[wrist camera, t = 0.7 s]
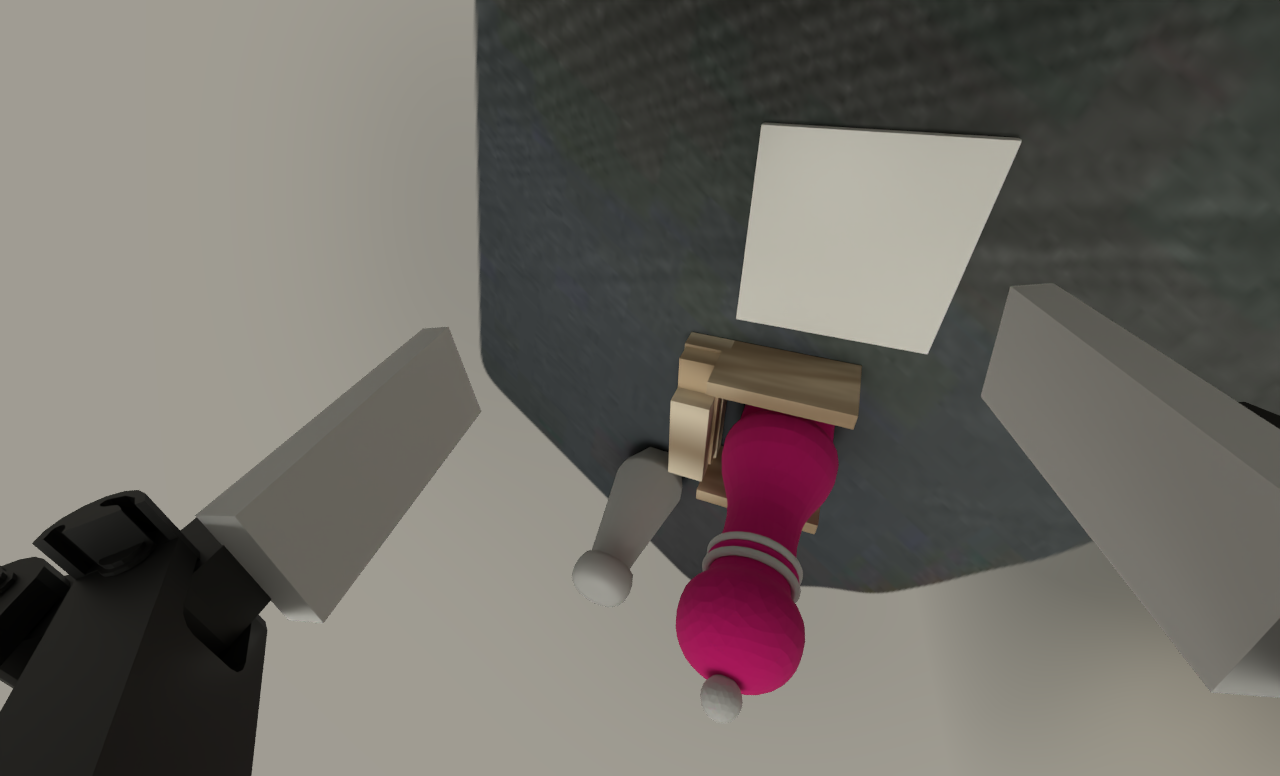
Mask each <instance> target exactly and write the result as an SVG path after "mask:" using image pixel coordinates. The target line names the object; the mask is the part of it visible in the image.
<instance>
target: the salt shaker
mask: <svg viewBox="0 0 1280 776" xmlns="http://www.w3.org/2000/svg"><path fill="white" fill-rule="evenodd" d="M668 463H669V453H668V452H665V451H662V450H659V449H656V448H653V447H649V448H647V449H645V450H643V451H641V452H639V453H637V454H635V455H633V456H631V457H629V458H628V459H627V460H626V461H625V462H624V463H623V464H622V465H621V466H620V468H619V469H618V471H617V474H616V478H615V481H614V484H613V487H612V490H611V493H610V496H609V499H608V503H607V505H606V508H605V511H604V515H603V518H602V521H601V524H600V527H599V530H598V533H597V536H596V540H595V542H594V545H593V548H592V550H590V551H587V552H585V553H584V554H583V555H582V556H581V557H580V558H579V560H578V561H577V563H576V564H575V567H574V569H573V573H572V577H573V583H574V586H575V587H576V589H577V590H578V592H579V593H580V594H581V595H583V596H584V597H585V598H586V599H588V600H590V601H592V602H594V603H595V604H598V605H601V606H605V607H615V606H618V605H620V604H621V603H623V602H624V601H625V599H626V598H627V596H628V595H629V593H630V590H631V587H632V578H633V574H632V573H631V571H630V568H631V566H632V565H633V563H634V562H635V561H636V559H637V558H638V556H639V555H640V554H641V552H642V551H643V550H644V548H645V547H646V545H647V544H648V543H649V541H650V540H651V539H652V537H653V536H654V535H655V533H656V532H657V531H658V529H659V528H660V526H661V525H662V524H663V522H664V521H665V520H666V518H667V517H668V516H669V514H670V513H671V511H672V510H673V509H674V507H675V506H676V505H677V503H678V502H679V501H680V496H681V491H682V476H680V475H677V474H674V473H670V472H668Z"/></svg>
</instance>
